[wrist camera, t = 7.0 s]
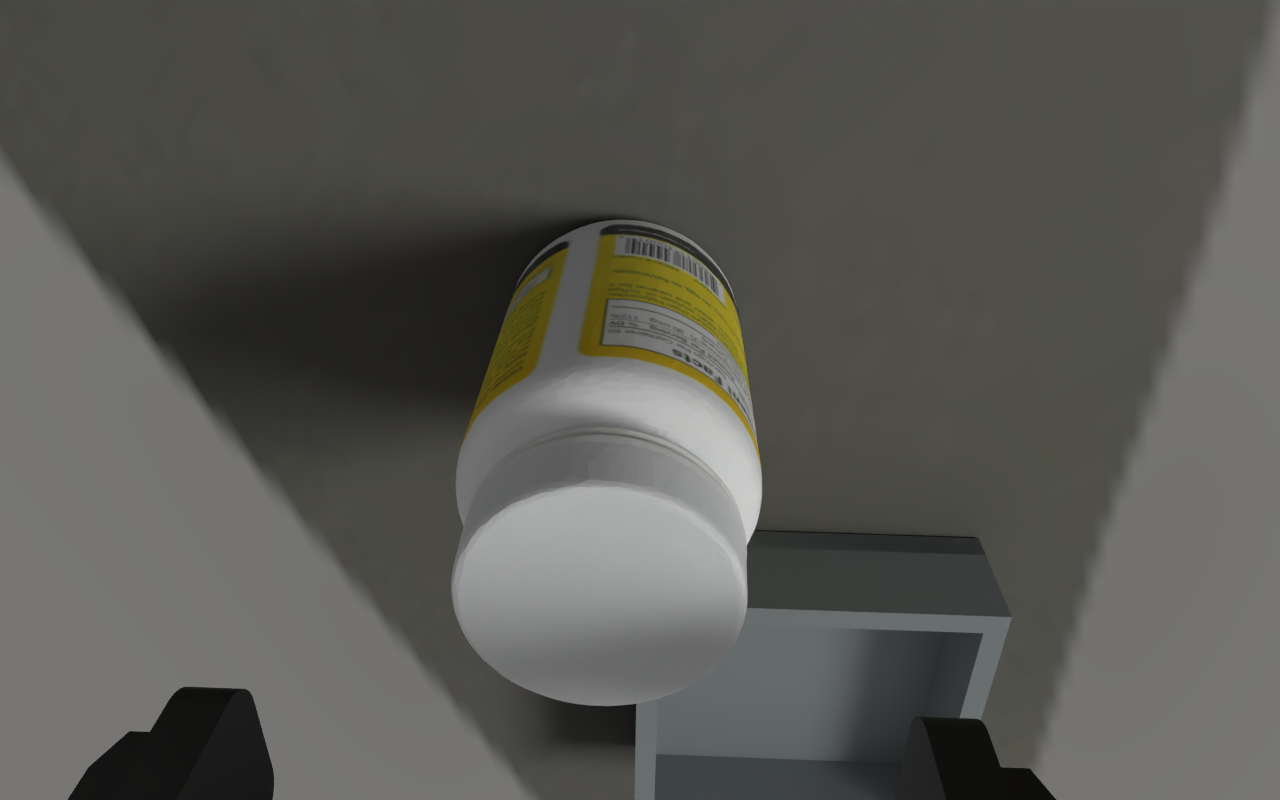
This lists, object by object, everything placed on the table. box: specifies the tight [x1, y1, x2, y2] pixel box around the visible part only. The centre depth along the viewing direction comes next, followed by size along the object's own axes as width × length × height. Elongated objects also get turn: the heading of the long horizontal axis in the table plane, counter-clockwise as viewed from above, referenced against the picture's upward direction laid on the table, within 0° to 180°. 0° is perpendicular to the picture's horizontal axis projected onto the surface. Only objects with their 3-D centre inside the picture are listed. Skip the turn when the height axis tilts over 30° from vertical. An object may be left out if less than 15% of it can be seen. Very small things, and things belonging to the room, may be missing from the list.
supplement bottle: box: [451, 220, 762, 706], centre depth 16 cm, size 5×5×8 cm
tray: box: [635, 531, 1012, 800], centre depth 23 cm, size 8×8×3 cm
